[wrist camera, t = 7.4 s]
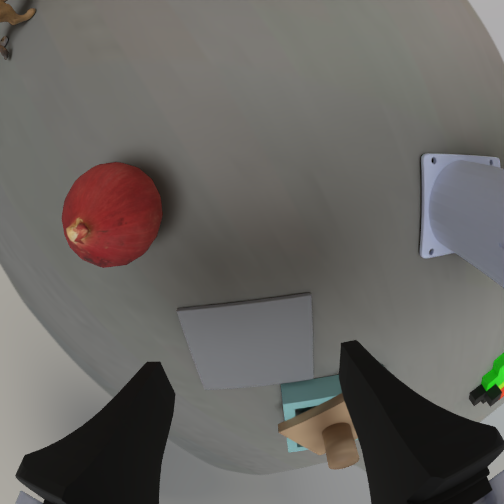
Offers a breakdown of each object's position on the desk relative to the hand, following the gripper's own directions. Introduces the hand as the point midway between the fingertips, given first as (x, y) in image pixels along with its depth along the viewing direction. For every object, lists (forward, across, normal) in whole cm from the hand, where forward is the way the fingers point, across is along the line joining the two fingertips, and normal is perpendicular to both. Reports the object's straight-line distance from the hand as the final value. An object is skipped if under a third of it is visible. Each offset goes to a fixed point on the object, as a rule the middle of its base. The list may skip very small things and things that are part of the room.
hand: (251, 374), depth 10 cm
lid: (+7, -6, +17) cm, 19 cm away
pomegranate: (+10, +7, -6) cm, 14 cm away
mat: (+10, +1, +7) cm, 12 cm away
